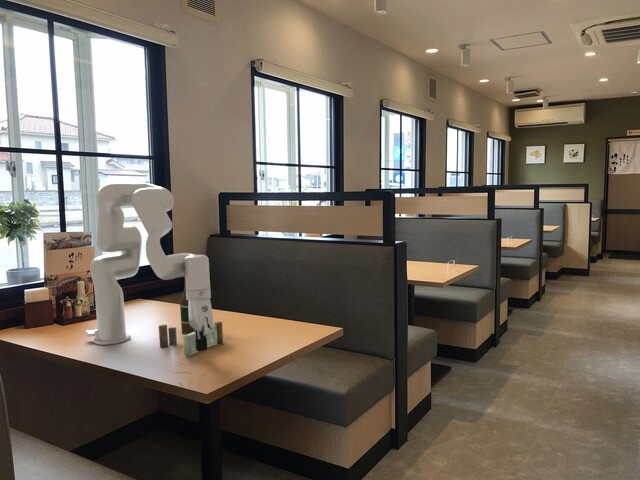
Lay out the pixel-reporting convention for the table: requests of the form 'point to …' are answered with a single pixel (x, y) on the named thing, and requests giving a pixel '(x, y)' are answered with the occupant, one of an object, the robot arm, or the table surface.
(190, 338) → the gate
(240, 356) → the table surface
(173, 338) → the gate posts
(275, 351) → the table surface
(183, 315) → the beer bottle
